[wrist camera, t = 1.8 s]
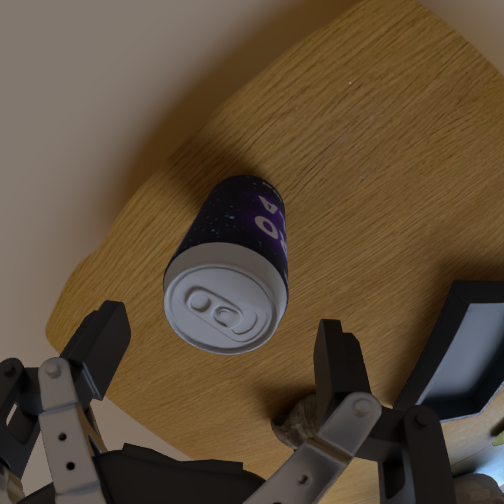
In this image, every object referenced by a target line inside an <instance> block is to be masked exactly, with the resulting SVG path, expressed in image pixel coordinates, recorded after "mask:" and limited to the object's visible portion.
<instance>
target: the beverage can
mask: <svg viewBox="0 0 504 504" xmlns="http://www.w3.org/2000/svg"><path fill="white" fill-rule="evenodd" d="M163 291H164V298H163V306H164V312H165V315H166V318H167V320H168V322H169V324H170V326H171V327H172V328H173V330H174V331H175V332H176V333H177V334H178V335H179V336H180V337H181V338H182V339H184V340H185V341H186V342H188V343H189V344H191V345H193V346H195V347H197V348H199V349H201V350H204V351H207V352H211V353H216V354H241V353H245V352H249V351H251V350H254V349H256V348H258V347H260V346H261V345H263V344H264V343H265V342H267V341H268V340H269V339H270V337H271V336H272V335H273V333H274V332H275V330H276V328H277V325H278V322H279V321H280V320H281V318H282V317H283V315H284V313H285V311H286V308H287V304H288V296H289V294H288V267H287V244H286V224H285V208H284V203H283V200H282V198H281V196H280V194H279V193H278V191H277V190H276V189H275V188H274V187H273V186H272V185H271V184H270V183H268V182H267V181H265V180H263V179H261V178H259V177H256V176H251V175H236V176H232V177H229V178H227V179H225V180H223V181H221V182H220V183H218V184H217V185H216V186H215V187H214V188H213V190H212V191H211V192H210V194H209V196H208V197H207V199H206V201H205V202H204V204H203V205H202V207H201V209H200V210H199V212H198V214H197V215H196V217H195V219H194V220H193V222H192V224H191V226H190V227H189V229H188V231H187V232H186V234H185V236H184V238H183V239H182V241H181V243H180V244H179V246H178V248H177V250H176V251H175V253H174V255H173V257H172V258H171V260H170V262H169V264H168V266H167V268H166V270H165V273H164V278H163Z"/></svg>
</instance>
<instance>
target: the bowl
mask: <svg viewBox="0 0 504 504" xmlns="http://www.w3.org/2000/svg"><path fill="white" fill-rule="evenodd" d="M453 483H454V488H455V494H456V501H457V504H504V493H502V491H501V490H500V488H499V486H498V484H497V482H496V481H495V480H494V479H493V478H492V477H490V476H487V475H485V474H480V473H473V474H466V475H462V476H459V477H455V478H453Z"/></svg>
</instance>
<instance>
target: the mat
mask: <svg viewBox="0 0 504 504" xmlns="http://www.w3.org/2000/svg"><path fill="white" fill-rule="evenodd" d="M502 444H504V431H503V432H502V433H500V434H499V435H498V436H497V437H496V438H495V440H494V441H493V443H492V445H493V446H498V445H502Z"/></svg>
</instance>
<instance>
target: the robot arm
mask: <svg viewBox="0 0 504 504" xmlns="http://www.w3.org/2000/svg"><path fill="white" fill-rule="evenodd" d="M130 339H131V329H130V325H129V321H128V317H127V313H126V309H125V305H124V303H123V302H117V301H110V300H106V301H104V302H103V304H102V305H101V307H100V308H99V310H98V311H96V310H94V311H93V312H92V313H90V314H89V315H87V316H86V317H85V318H84V320H83V321H82V323H81V324H80V327H78V329H77V330H76V332H75V334H74V335H73V336H72V338H71V339H70V341H69V342H68V344H67V345H66V347H65V348H64V350H63V351H62V353H61V354H60V356H59V357H54V358H50V359H48V360H46V361H45V362H43V363H42V365H41V366H40V367H39V368H38V367H36V368H24V366H23V364H22V363H21V361H20V360H19V359H17V358H9V359H6V360H4V361H2V362H1V363H0V504H318V503H319V502H320V500H321V499H322V498H323V497H324V496H325V494H326V493H327V492H328V491H329V489H330V488H331V487H332V486H333V484H334V483H335V482H336V480H337V479H338V478H339V477H340V475H341V474H342V473H343V471H344V470H345V469H346V467H347V466H348V465H349V463H350V462H351V460H352V459H353V458H354V457H358V458H362V459H367V460H372V461H376V462H378V474H379V488H380V504H457V501H456V494H455V488H454V483H453V477H452V472H451V467H450V462H449V458H448V453H447V448H446V444H445V440H444V436H443V432H442V428H441V424H440V420H439V417H438V415H437V413H436V412H435V411H434V410H433V409H432V408H430V407H428V406H426V405H414V406H411V407H410V408H408V409H407V411H406V412H404V411H399V410H394V409H390V408H387V407H384V406H382V405H381V404H380V402H379V400H378V399H377V398H376V397H375V396H373V395H372V393H371V389H370V385H369V381H368V376H367V372H366V368H365V364H364V362H363V361H364V360H363V356H362V354H361V353H362V352H361V348H360V344H359V341H358V340H357V339H356V337H355V336H354V335H353V334H352V333H343V331H342V326H341V322H340V320H337V319H321V320H320V323H319V328H318V332H317V337H316V342H315V346H314V357H313V360H314V372H315V383H316V395H317V408H318V422H319V428H320V429H319V430H318V432H317V433H316V434H315V435H314V436H313V437H309V438H308V439H307V440H305V441H304V443H303V444H302V445H301V446H300V447H299V448H298V449H297V450H296V451H295V452H294V453H293V454H292V455H291V457H290V458H289V459H288V460H287V461H286V462H285V463H284V464H283V465H282V466H281V467H280V468H279V469H278V470H277V471H276V472H275V473H274V474H273V475H272V476H271V477H270V478H269V479H268V480H267V481H266V480H265V479H263V478H262V477H260V476H258V475H256V474H254V473H252V472H249V471H246V470H243V462H232V461H223V460H214V459H210V460H197V461H177V460H175V459H172V458H170V457H168V456H166V455H163V454H161V453H159V452H157V451H155V450H153V449H149V448H145V447H140V446H136V445H132V444H128V443H124V446H123V448H122V450H113V451H108V450H107V448H106V447H105V445H104V443H103V440H102V438H101V435H100V432H99V429H98V426H97V423H96V420H95V417H94V414H93V411H92V408H91V405H90V402H91V400H92V398H93V399H97V400H100V401H102V400H103V397H104V395H105V393H106V391H107V389H108V387H109V385H110V382H111V380H112V378H113V376H114V374H115V372H116V370H117V368H118V366H119V363H120V361H121V359H122V357H123V355H124V353H125V351H126V349H127V347H128V345H129V343H130ZM14 403H15V404H16V406H17V408H16V410H15V412H14V414H13V416H12V418H11V420H10V422H9V424H8V426H7V424H6V420H7V417H8V415H9V413H10V411H11V409H12V407H13V405H14ZM40 431H41V433H42V439H43V443H44V448H45V452H46V456H47V461H48V465H49V469H50V473H51V477H52V480H53V482H51V483H50V484H48V485H46V486H44V487H43V488H41V489H39V490H37V491H35V492H34V493H32V494H30V495H28V496H26V497H25V494H24V492H23V486H22V483H21V478H22V476H23V473H24V470H25V467H26V465H27V463H28V460H29V457H30V455H31V452H32V450H33V447H34V445H35V442H36V440H37V438H38V436H39V433H40Z"/></svg>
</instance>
